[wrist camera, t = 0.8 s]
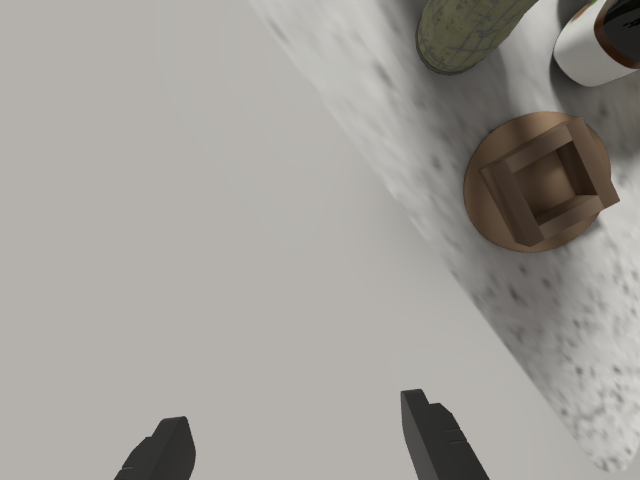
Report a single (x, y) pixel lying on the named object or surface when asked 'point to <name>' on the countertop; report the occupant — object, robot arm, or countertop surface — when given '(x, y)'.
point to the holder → (538, 182)
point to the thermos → (465, 31)
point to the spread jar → (600, 42)
